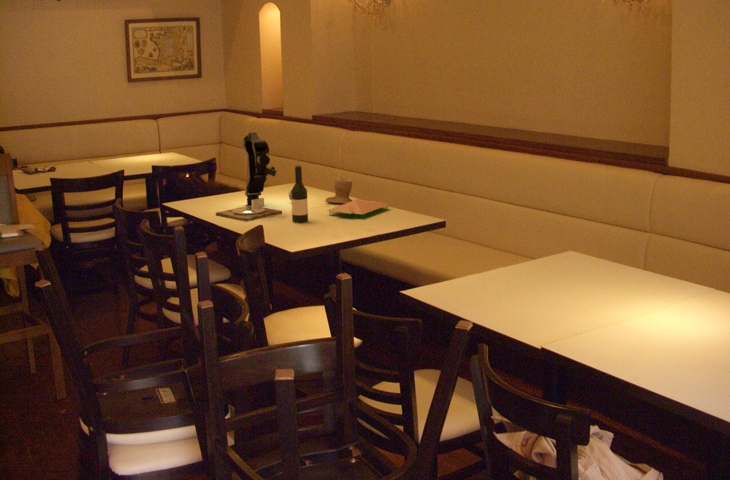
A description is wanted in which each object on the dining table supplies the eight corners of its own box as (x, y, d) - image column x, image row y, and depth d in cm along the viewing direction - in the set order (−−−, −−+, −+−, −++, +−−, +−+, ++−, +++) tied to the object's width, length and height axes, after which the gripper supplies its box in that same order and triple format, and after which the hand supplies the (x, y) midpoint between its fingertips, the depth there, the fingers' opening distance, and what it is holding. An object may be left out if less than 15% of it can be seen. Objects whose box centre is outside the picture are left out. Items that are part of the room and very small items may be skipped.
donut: (302, 201, 449) (302, 185, 447) (305, 202, 446) (304, 185, 444) (287, 203, 444) (287, 186, 442) (290, 204, 442) (289, 187, 439)
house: (324, 217, 407) (323, 202, 405) (355, 206, 434) (355, 192, 432) (359, 221, 395) (359, 206, 393) (389, 210, 423) (389, 196, 421)
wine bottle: (292, 220, 399) (290, 164, 391) (308, 219, 399) (306, 164, 392) (292, 223, 391) (290, 167, 383) (308, 222, 391) (306, 166, 384)
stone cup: (355, 202, 445) (355, 177, 441) (348, 205, 434) (347, 180, 431) (332, 200, 450) (332, 176, 447) (324, 204, 440) (324, 179, 436)
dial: (253, 206, 428) (252, 196, 426) (274, 210, 416) (273, 199, 415) (223, 212, 412) (222, 202, 410) (244, 216, 400) (243, 205, 399)
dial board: (251, 207, 432) (251, 204, 432) (281, 213, 416) (281, 210, 415) (215, 215, 413) (215, 212, 413) (246, 221, 396) (246, 218, 396)
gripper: (274, 165, 399) (275, 193, 403) (276, 160, 417) (277, 187, 421) (253, 165, 399) (255, 194, 402) (256, 161, 417) (257, 188, 420)
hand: (262, 191), depth 412 cm, fingers open, 4 cm apart
